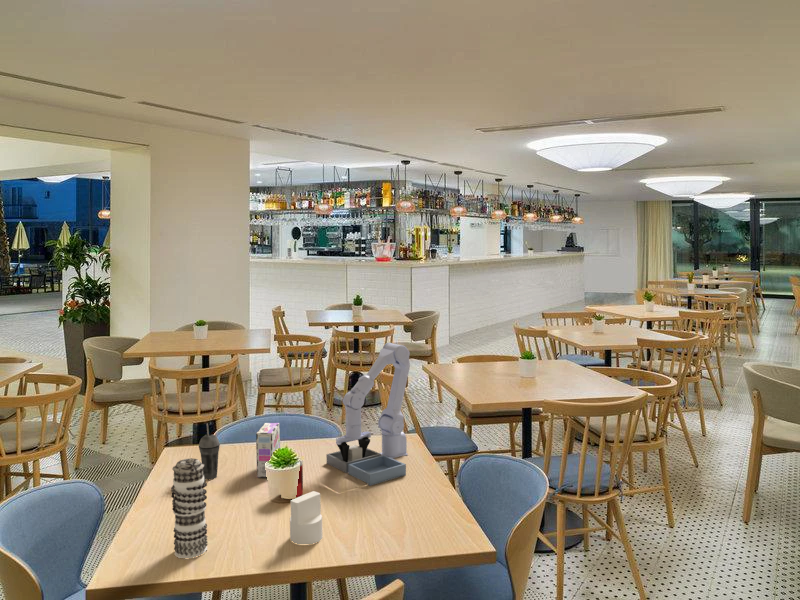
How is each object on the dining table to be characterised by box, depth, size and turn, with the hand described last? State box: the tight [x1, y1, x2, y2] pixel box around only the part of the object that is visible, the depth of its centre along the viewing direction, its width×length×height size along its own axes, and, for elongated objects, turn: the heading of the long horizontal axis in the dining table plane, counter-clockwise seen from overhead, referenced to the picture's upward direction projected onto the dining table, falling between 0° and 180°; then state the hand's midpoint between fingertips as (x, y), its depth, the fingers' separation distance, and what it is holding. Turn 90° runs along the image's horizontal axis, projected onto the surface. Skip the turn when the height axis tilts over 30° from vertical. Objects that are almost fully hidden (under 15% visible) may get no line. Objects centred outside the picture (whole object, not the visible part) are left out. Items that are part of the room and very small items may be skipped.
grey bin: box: [326, 447, 381, 474], centre depth 238 cm, size 16×13×4 cm
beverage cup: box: [198, 422, 221, 480], centre depth 225 cm, size 7×7×20 cm
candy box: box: [255, 422, 281, 479], centre depth 231 cm, size 14×6×16 cm, turn 179°
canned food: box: [296, 459, 304, 498], centre depth 209 cm, size 8×8×11 cm
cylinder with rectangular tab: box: [289, 490, 323, 545], centre depth 178 cm, size 9×9×12 cm
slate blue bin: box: [347, 455, 407, 487], centre depth 227 cm, size 16×13×4 cm
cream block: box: [348, 444, 362, 462], centre depth 238 cm, size 4×4×6 cm
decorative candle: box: [170, 457, 208, 559], centre depth 170 cm, size 9×9×25 cm
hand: (353, 459), depth 238 cm, fingers open, 7 cm apart
